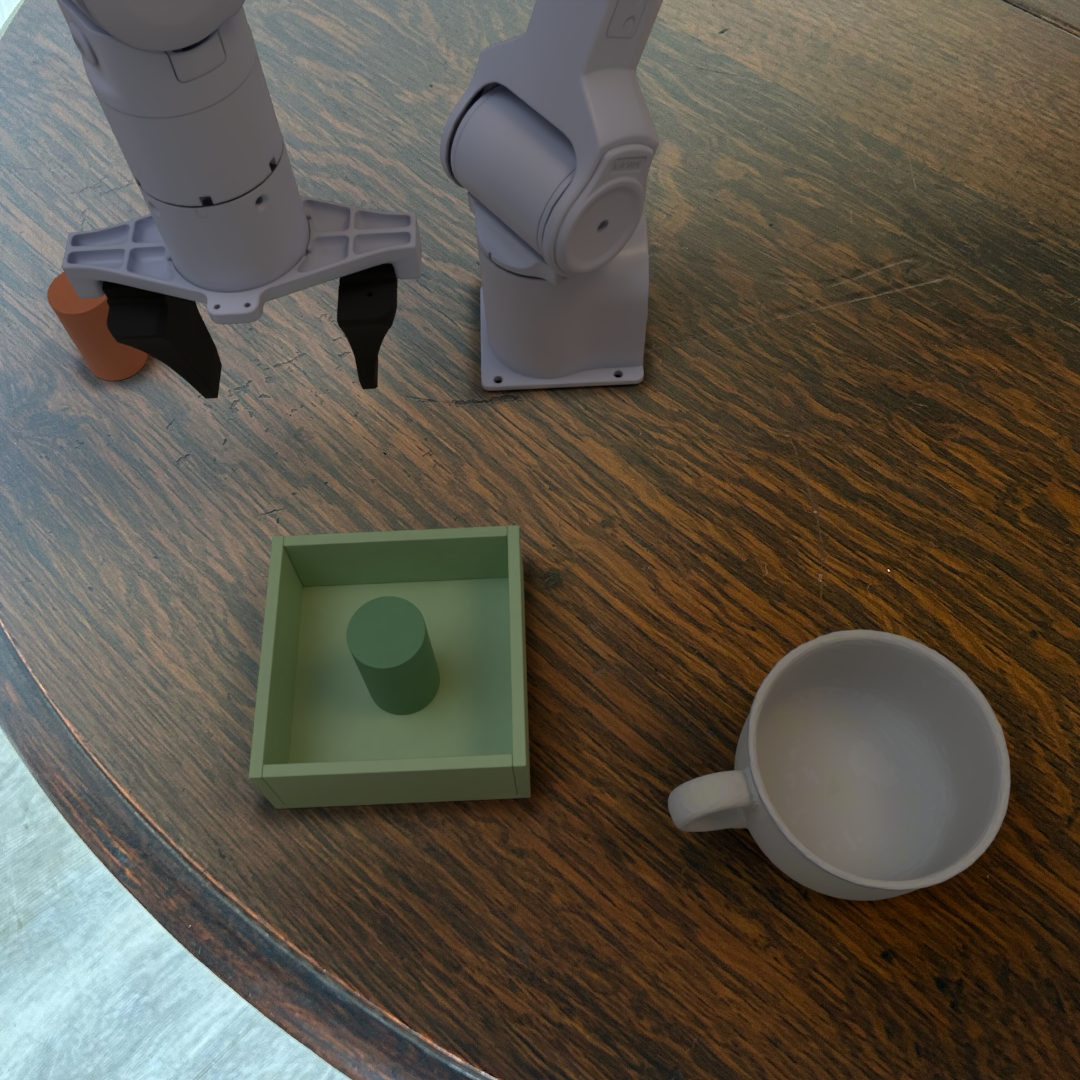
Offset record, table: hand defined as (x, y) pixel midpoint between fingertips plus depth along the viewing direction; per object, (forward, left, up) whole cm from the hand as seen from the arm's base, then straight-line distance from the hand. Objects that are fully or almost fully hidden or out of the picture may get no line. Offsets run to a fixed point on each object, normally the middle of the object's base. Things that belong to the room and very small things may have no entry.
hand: (291, 377), depth 52 cm
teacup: (-24, +19, -10) cm, 32 cm away
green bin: (-5, +12, -9) cm, 16 cm away
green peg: (-5, +12, -9) cm, 16 cm away
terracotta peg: (+13, -10, -9) cm, 19 cm away
